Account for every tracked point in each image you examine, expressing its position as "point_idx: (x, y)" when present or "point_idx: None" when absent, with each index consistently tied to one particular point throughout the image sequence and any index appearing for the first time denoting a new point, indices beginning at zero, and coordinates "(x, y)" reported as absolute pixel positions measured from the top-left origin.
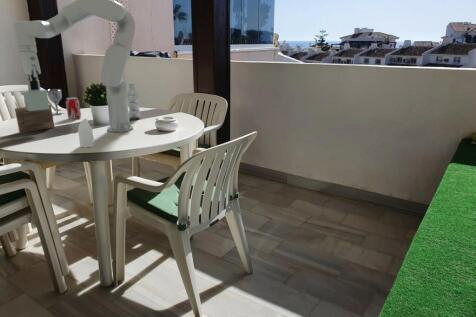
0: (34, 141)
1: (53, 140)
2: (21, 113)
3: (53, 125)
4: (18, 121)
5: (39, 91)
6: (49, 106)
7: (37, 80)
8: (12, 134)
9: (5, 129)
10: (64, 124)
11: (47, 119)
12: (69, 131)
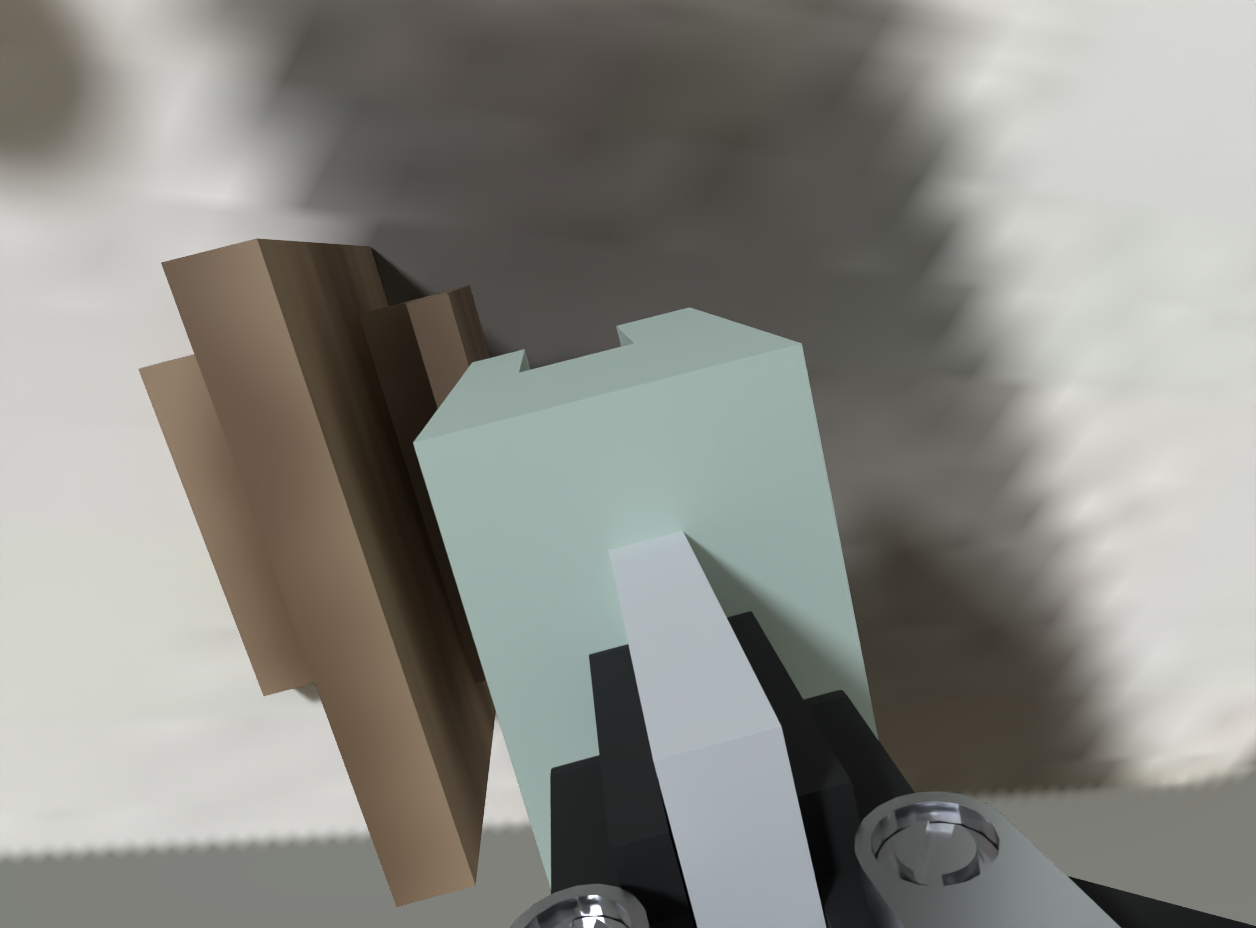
0: (1066, 530)
1: (1155, 336)
2: (461, 757)
3: (367, 256)
4: (490, 747)
5: (843, 568)
6: (281, 274)
7: (784, 780)
8: None
9: (179, 834)
10: (184, 70)
11: (482, 345)
12: (769, 79)
